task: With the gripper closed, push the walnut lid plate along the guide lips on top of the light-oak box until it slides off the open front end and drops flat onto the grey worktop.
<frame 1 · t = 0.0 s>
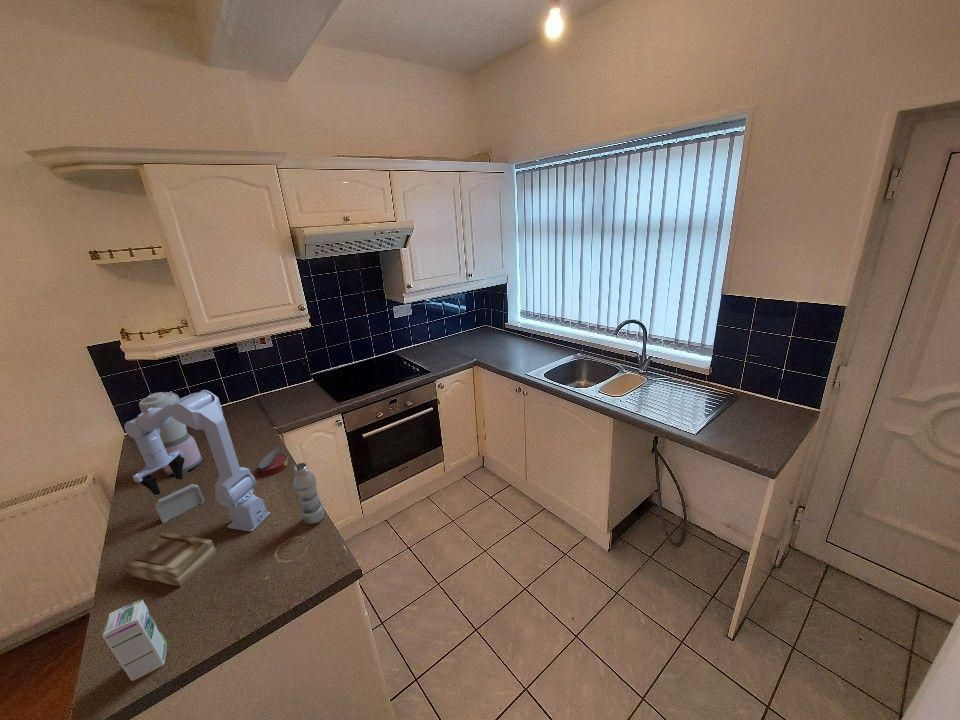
hand: (168, 486, 126), 10 cm above the worktop, fingers open, 7 cm apart
grey piece: (184, 512, 130), on the worktop
plastic bottle: (315, 520, 121), on the worktop
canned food: (274, 468, 150), on the worktop
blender: (187, 465, 156), on the worktop
syrup box: (150, 662, 84), on the worktop
lid plate: (162, 554, 108), point 3 cm above the worktop, touching oak box
oak box: (174, 564, 109), on the worktop
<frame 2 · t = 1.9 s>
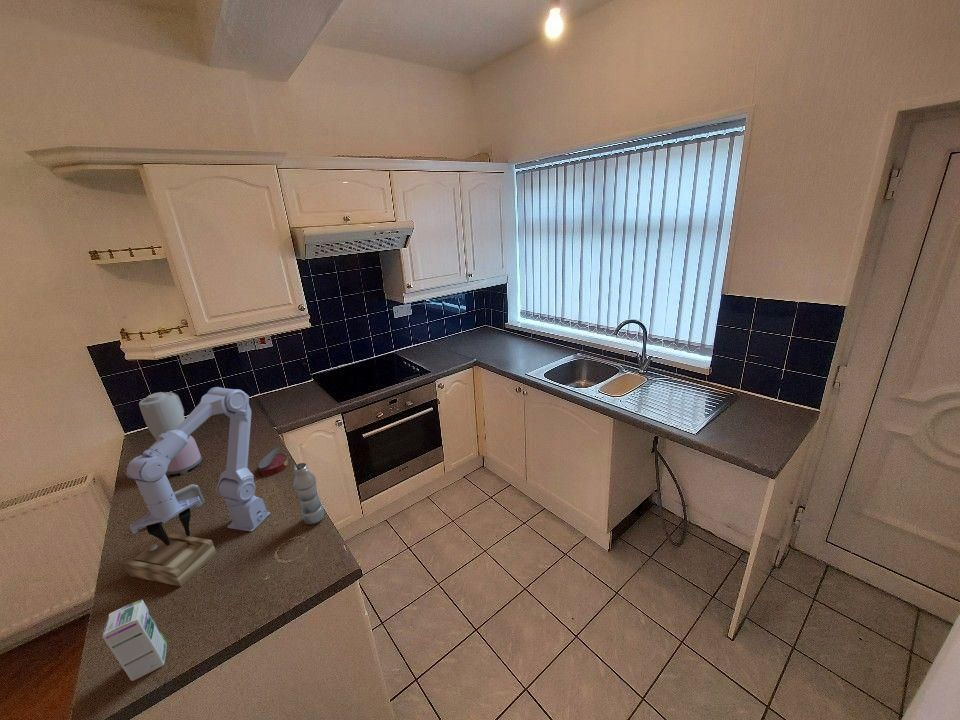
hand: (178, 538, 104), 10 cm above the worktop, fingers open, 4 cm apart
nothing on the worktop moved.
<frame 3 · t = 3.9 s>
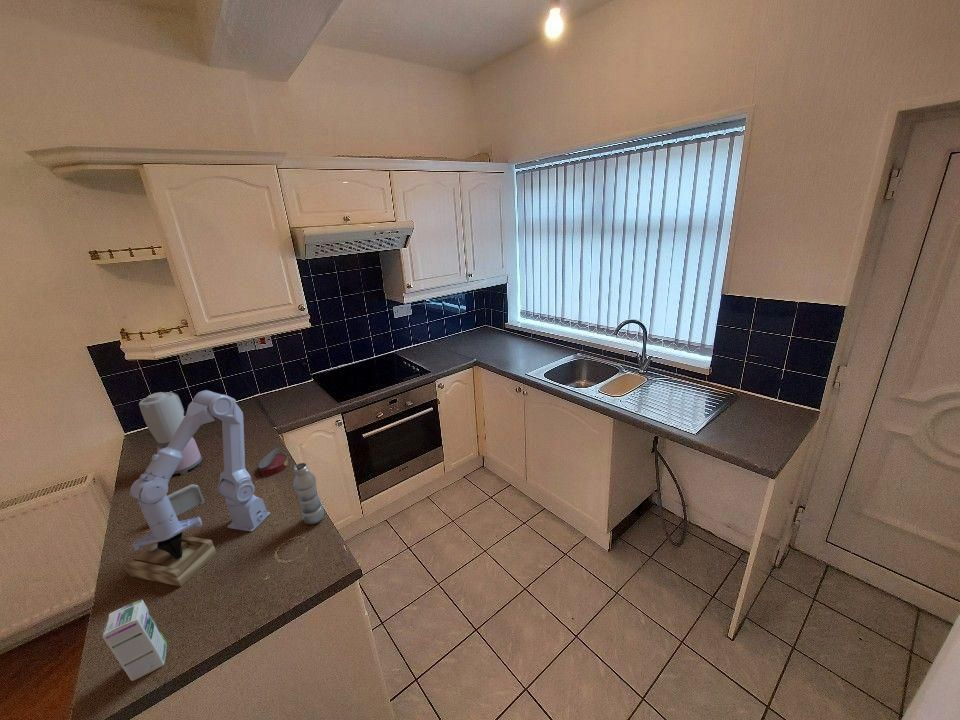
hand: (179, 556, 107), 4 cm above the worktop, fingers closed
lid plate: (162, 554, 108), point 3 cm above the worktop, touching gripper
everything else where it was.
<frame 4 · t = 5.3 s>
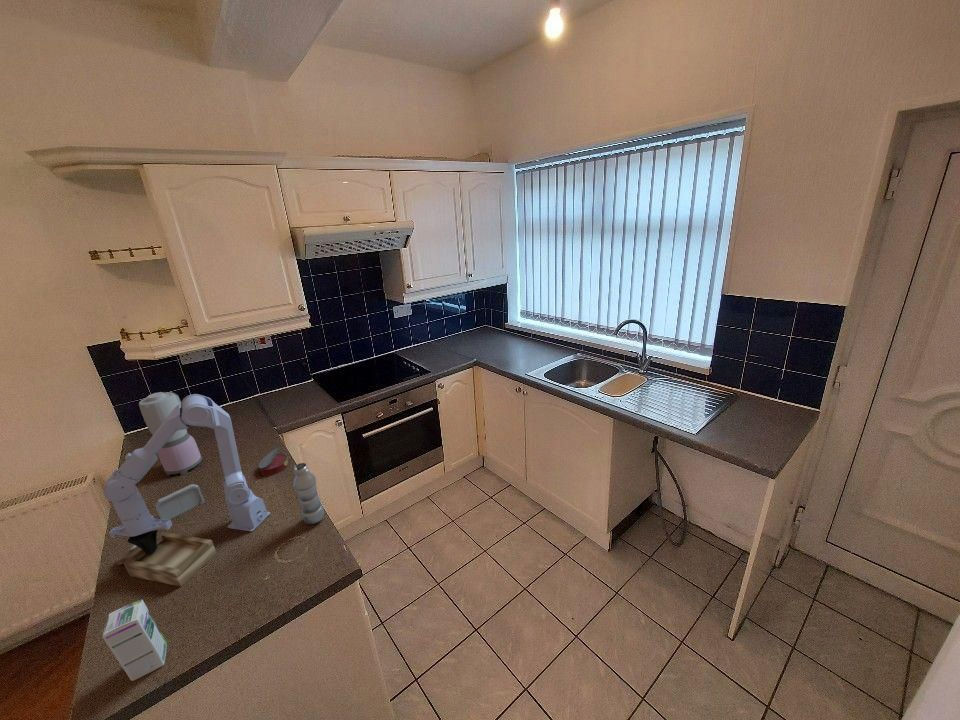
hand: (152, 551, 109), 4 cm above the worktop, fingers closed
lid plate: (141, 551, 111), point 2 cm above the worktop, tilted 22°, touching gripper
everything else where it was.
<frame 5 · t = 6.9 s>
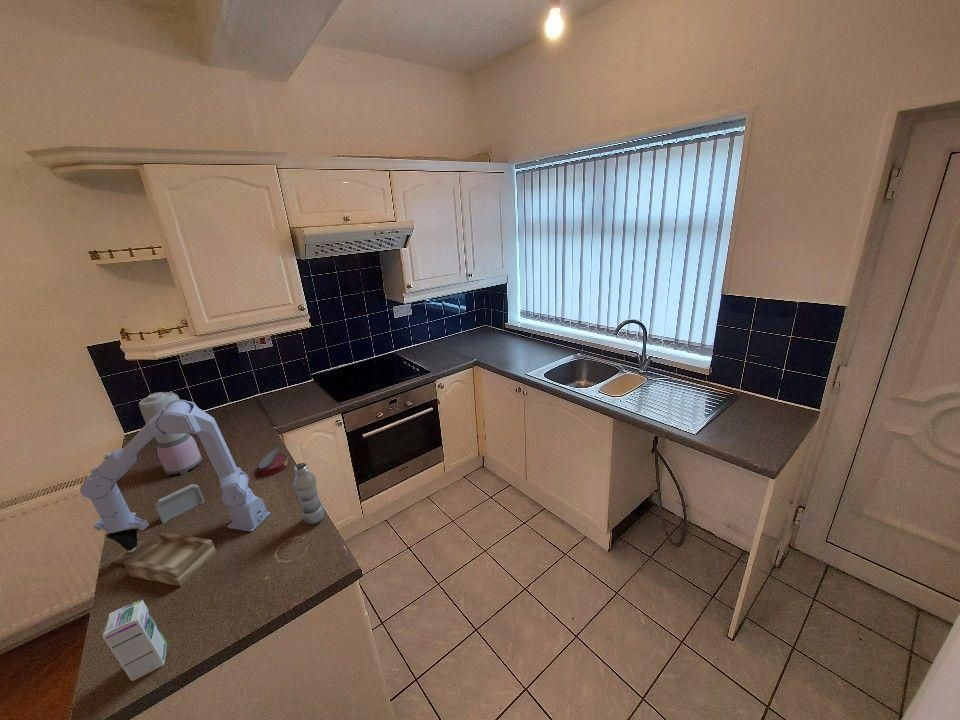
hand: (132, 547, 111), 4 cm above the worktop, fingers closed
lid plate: (140, 556, 113), on the worktop
everything else where it was.
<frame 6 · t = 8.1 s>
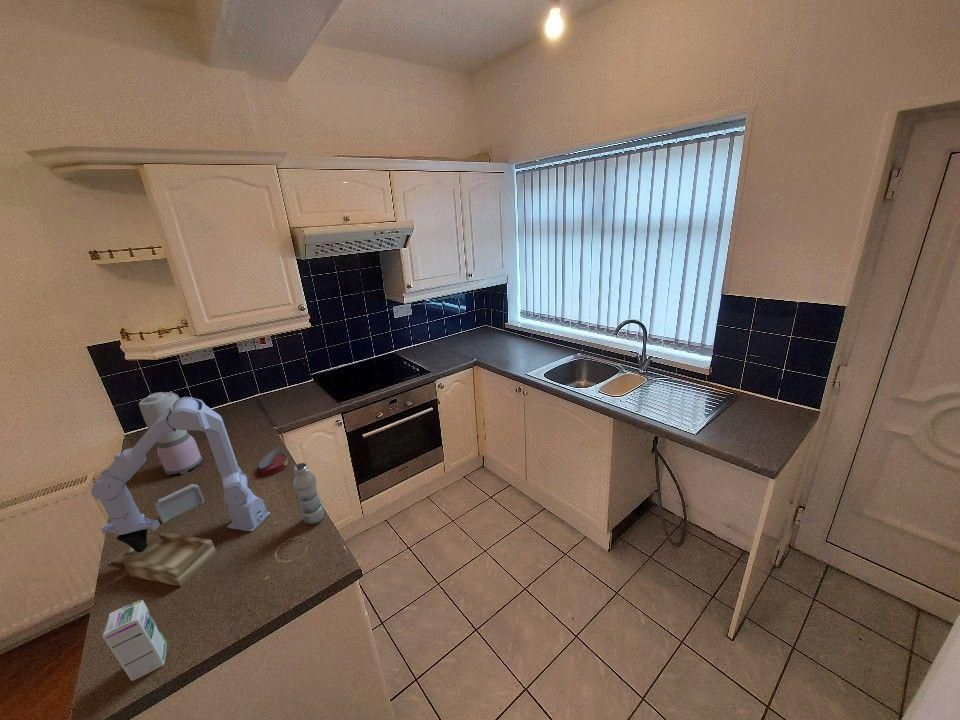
hand: (142, 549, 110), 4 cm above the worktop, fingers closed
nothing on the worktop moved.
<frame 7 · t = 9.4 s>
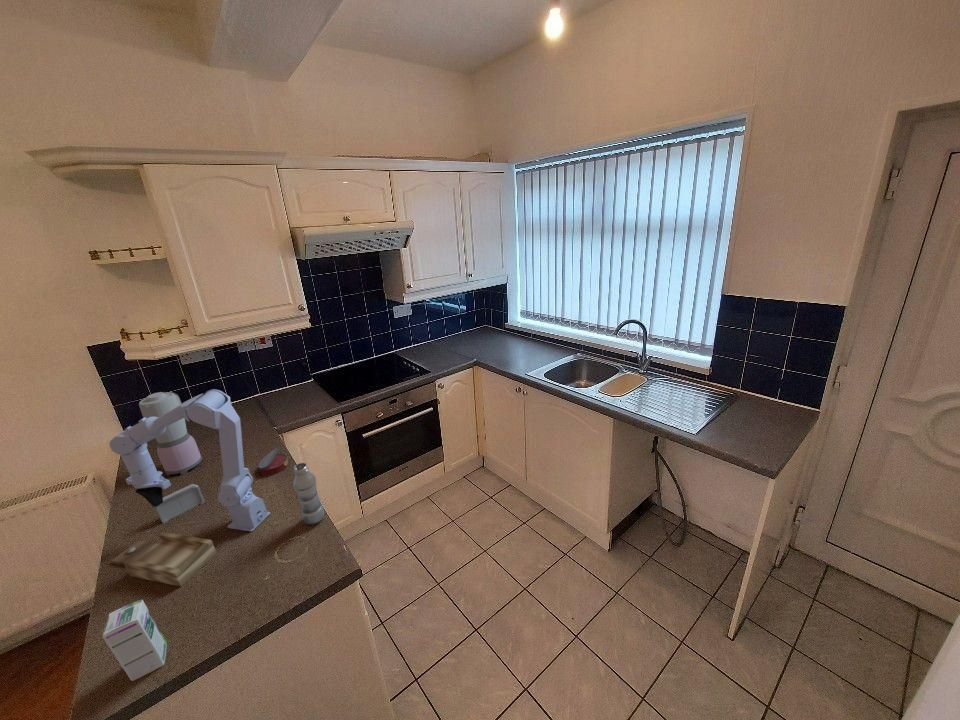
hand: (158, 504, 118), 10 cm above the worktop, fingers closed
nothing on the worktop moved.
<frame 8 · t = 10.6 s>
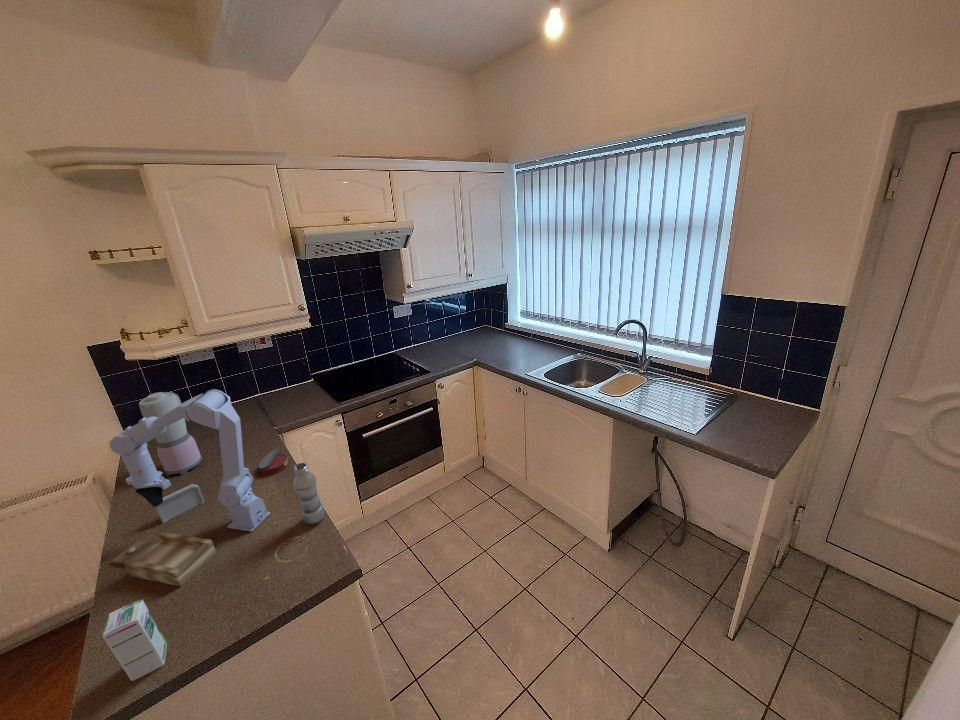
hand: (158, 504, 118), 10 cm above the worktop, fingers closed
nothing on the worktop moved.
at the end: lid plate inside the target area (7.5 cm from its centre), on the worktop; the gripper is holding nothing; lid plate moved 11.8 cm from its start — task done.
